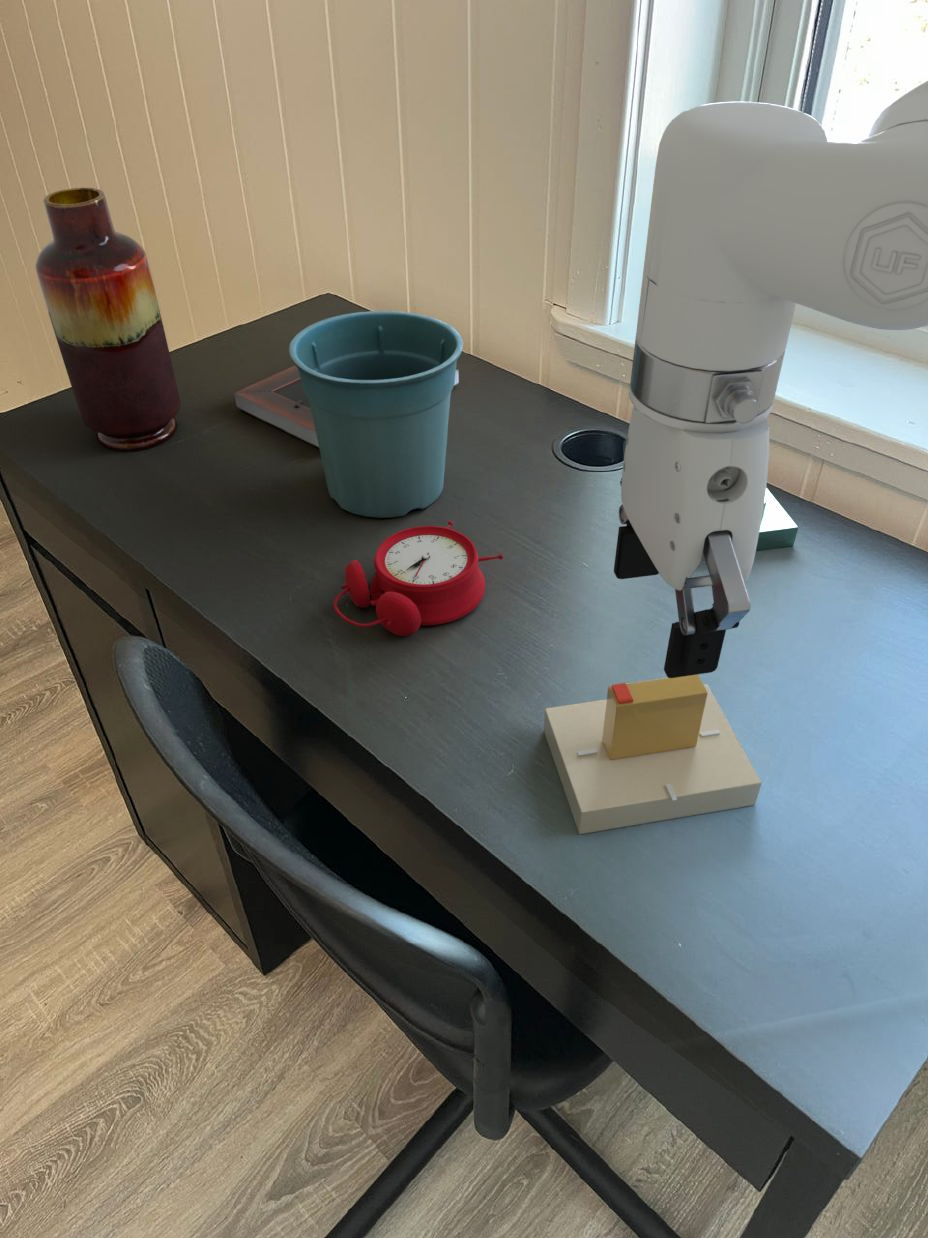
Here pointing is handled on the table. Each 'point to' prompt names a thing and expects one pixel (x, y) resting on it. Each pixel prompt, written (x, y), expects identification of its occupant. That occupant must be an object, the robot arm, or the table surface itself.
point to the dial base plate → (646, 771)
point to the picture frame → (283, 403)
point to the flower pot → (380, 406)
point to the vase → (107, 323)
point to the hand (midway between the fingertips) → (661, 620)
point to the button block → (775, 526)
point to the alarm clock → (419, 579)
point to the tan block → (653, 716)
